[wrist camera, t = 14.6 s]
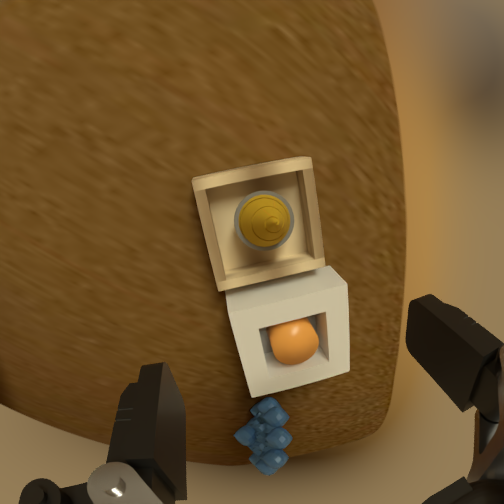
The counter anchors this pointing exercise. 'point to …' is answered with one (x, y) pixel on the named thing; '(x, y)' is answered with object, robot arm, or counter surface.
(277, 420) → the grapes
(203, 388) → the counter surface
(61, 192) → the counter surface
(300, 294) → the frame
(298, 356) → the button
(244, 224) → the drill bit
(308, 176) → the tray
